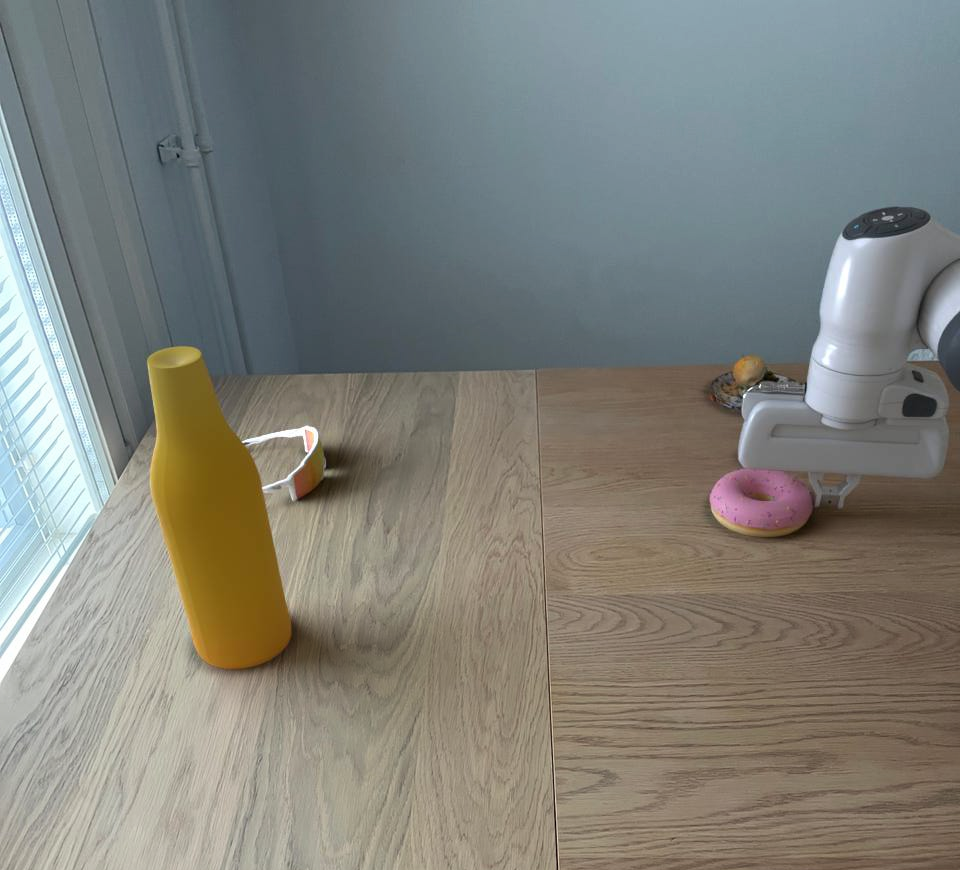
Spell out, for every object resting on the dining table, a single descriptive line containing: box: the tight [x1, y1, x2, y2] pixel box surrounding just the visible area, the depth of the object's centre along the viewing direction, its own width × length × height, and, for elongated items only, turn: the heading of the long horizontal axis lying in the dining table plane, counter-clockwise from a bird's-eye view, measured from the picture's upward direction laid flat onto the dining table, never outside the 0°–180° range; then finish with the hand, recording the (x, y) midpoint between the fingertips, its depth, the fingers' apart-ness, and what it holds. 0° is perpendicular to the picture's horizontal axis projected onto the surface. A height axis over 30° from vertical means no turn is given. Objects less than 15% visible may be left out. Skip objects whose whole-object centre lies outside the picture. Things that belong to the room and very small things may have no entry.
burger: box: [709, 348, 797, 414], centre depth 128 cm, size 12×12×8 cm
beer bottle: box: [146, 345, 292, 670], centre depth 85 cm, size 9×9×29 cm
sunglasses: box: [242, 425, 327, 502], centre depth 118 cm, size 14×15×5 cm
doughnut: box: [709, 468, 814, 538], centre depth 107 cm, size 11×11×4 cm
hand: (827, 505), depth 106 cm, fingers closed
